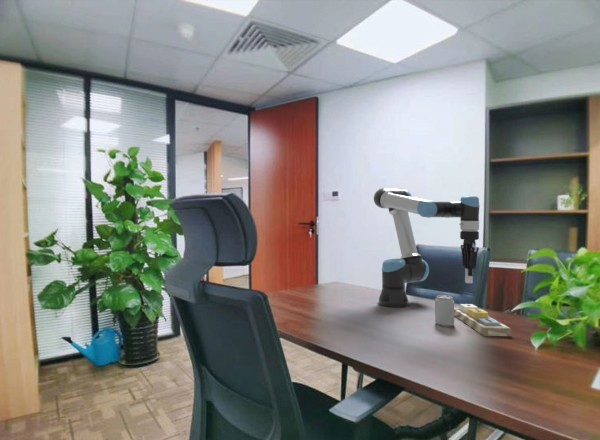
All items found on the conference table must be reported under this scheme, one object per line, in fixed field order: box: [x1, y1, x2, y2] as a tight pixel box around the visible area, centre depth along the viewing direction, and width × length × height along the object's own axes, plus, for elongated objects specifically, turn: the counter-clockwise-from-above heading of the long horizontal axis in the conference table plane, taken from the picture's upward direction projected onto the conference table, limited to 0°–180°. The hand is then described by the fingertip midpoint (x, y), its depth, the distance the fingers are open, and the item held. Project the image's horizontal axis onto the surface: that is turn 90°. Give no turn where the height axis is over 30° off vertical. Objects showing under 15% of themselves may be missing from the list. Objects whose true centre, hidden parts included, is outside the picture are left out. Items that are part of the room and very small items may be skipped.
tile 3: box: [478, 318, 501, 326], centre depth 135 cm, size 6×6×3 cm
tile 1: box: [459, 303, 479, 314], centre depth 152 cm, size 6×6×3 cm
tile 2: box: [468, 308, 489, 319], centre depth 143 cm, size 6×6×3 cm
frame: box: [454, 307, 512, 337], centre depth 143 cm, size 30×10×3 cm, turn 178°
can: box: [434, 294, 455, 328], centre depth 142 cm, size 8×8×12 cm
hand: (468, 282), depth 151 cm, fingers closed
